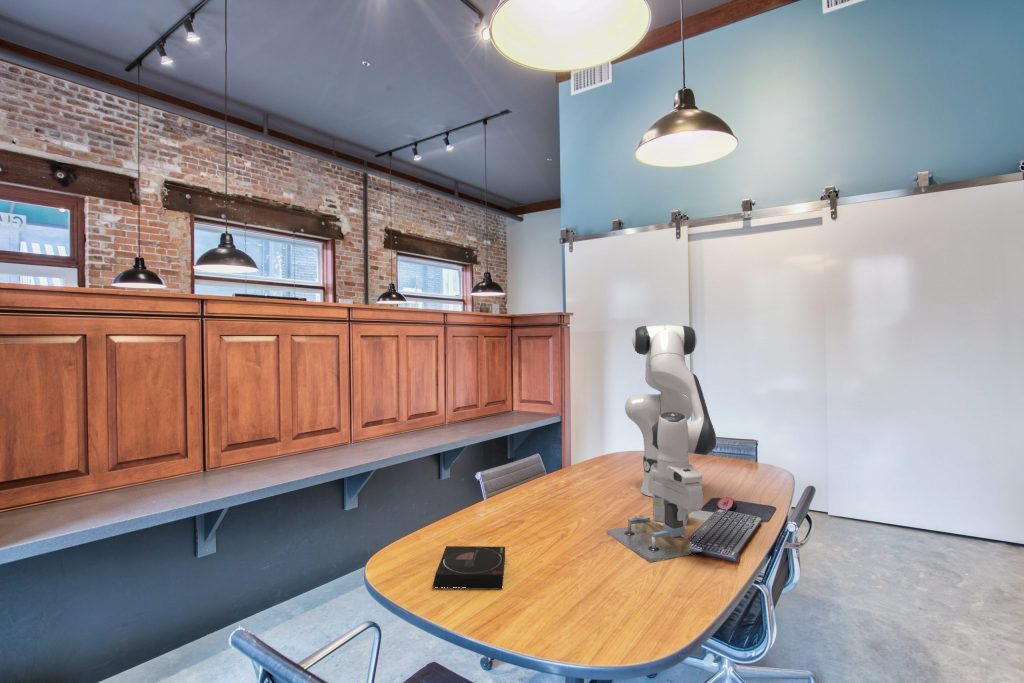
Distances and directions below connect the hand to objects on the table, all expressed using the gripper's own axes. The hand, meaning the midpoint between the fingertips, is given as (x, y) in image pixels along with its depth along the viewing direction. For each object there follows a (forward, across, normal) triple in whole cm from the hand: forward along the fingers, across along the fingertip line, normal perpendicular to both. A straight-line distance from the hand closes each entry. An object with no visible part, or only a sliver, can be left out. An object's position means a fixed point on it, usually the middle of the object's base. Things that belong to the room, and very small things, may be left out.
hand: (673, 517), depth 143 cm
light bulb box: (+9, -19, +14) cm, 26 cm away
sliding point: (+8, 0, -2) cm, 8 cm away
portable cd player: (+10, -7, -59) cm, 60 cm away
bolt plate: (+9, -6, -3) cm, 11 cm away
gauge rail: (+8, -6, -3) cm, 11 cm away
